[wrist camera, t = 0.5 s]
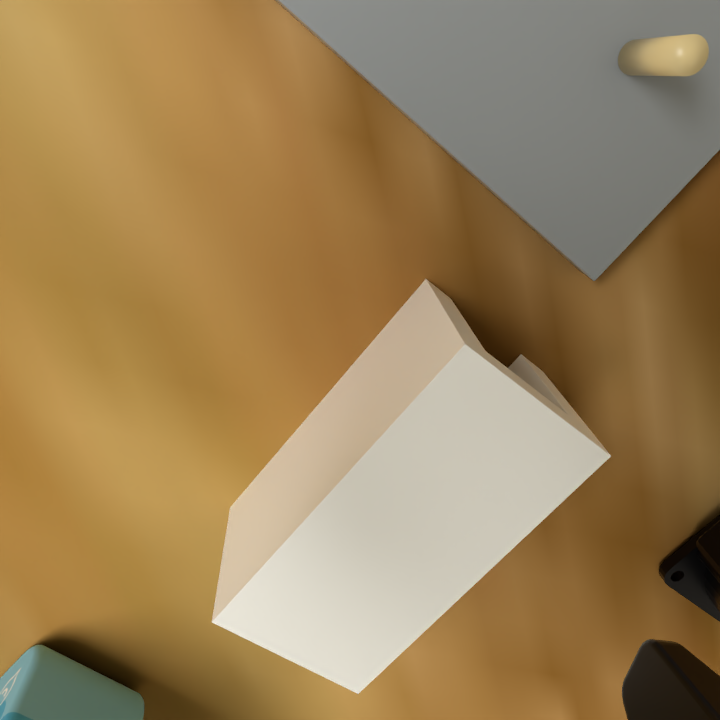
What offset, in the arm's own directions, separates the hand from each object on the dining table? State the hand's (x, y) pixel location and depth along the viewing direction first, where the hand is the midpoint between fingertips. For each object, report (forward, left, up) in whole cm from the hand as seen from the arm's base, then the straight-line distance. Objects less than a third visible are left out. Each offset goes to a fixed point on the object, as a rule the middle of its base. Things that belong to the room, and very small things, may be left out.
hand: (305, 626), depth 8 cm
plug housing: (-5, +2, -12) cm, 13 cm away
